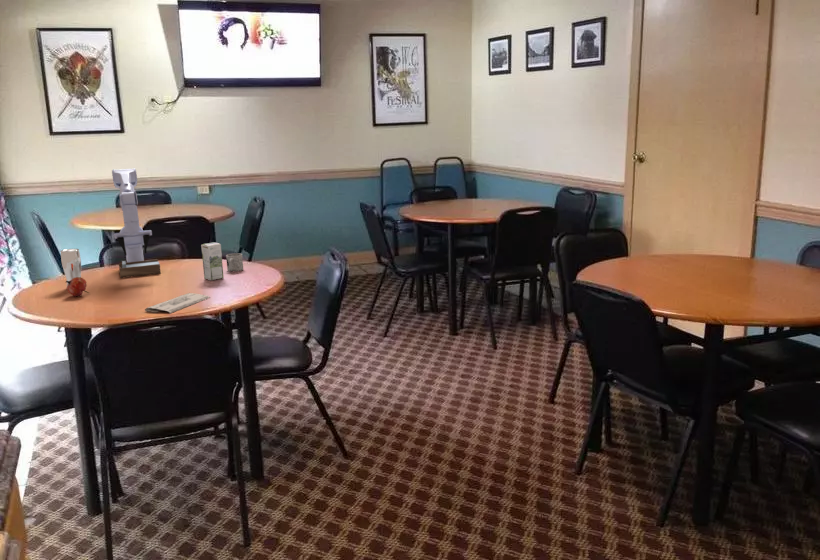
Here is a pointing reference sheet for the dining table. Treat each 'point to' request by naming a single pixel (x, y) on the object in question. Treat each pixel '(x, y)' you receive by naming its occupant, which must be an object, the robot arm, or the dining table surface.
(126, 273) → the case
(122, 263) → the cover plate
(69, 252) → the white tapered container
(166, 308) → the newspaper
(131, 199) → the robot arm
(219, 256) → the syrup box
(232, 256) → the mug
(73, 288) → the pomegranate
